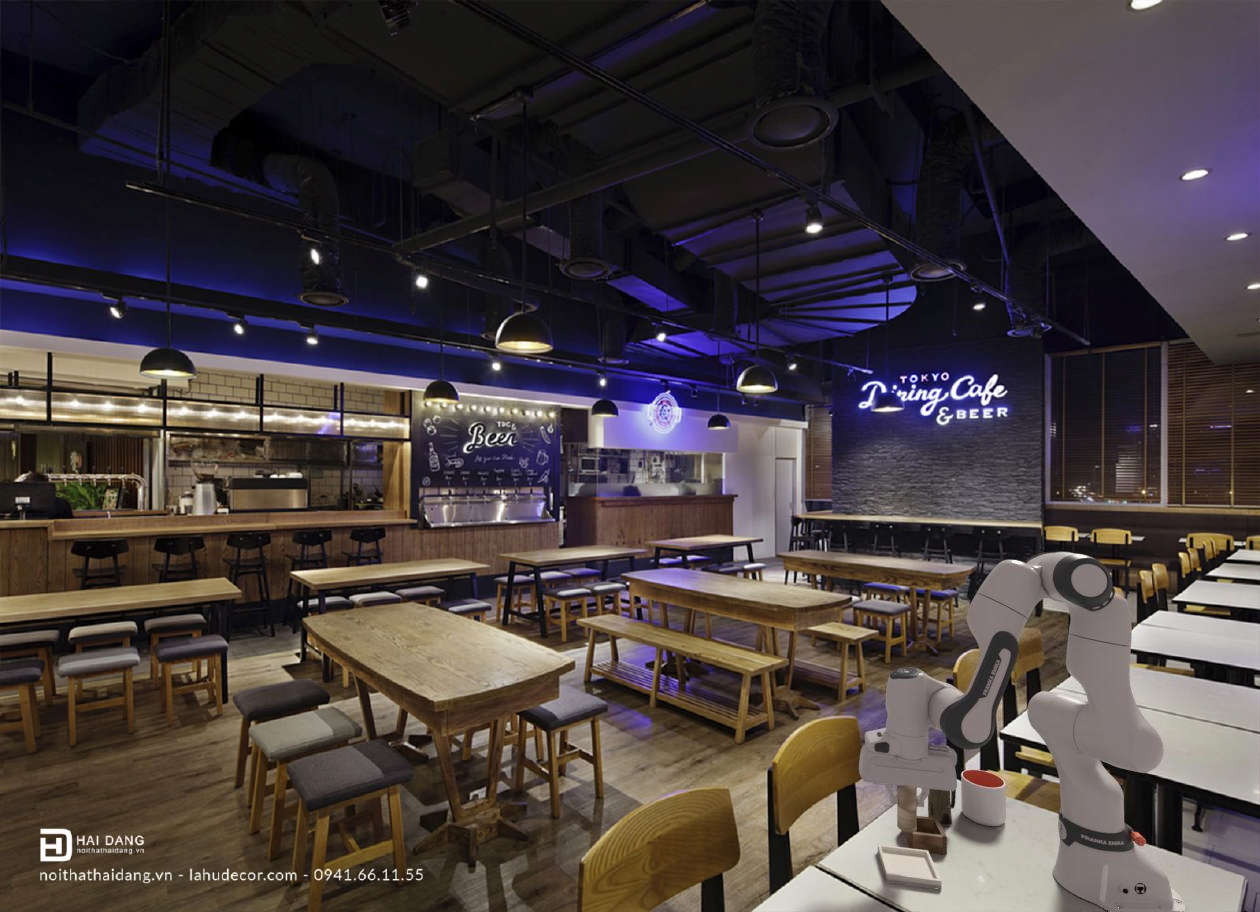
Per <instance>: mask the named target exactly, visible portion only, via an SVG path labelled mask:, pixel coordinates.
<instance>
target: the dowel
mask: <svg viewBox="0 0 1260 912" xmlns="http://www.w3.org/2000/svg"><path fill="white" fill-rule="evenodd" d="M896 788H897V789H896V793H897V796H898V804H896V808H897V809H896V810H897V811H896V812H897V813H896V815H897V816H896V817H897V818H896V820H897V821H896V823H897V824H896V826H897V828H898V830H900V831H901V830H902V831H905V832H910V833H912V832H916V831H917V816H918V815H917V813H918V812H917V809H918V808H917V796H918V794H917V790H918V789H917V788H918V787H914V786H904V785H903V786H900V785H896Z"/></svg>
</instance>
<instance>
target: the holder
mask: <svg viewBox="0 0 1260 912" xmlns="http://www.w3.org/2000/svg"><path fill="white" fill-rule="evenodd" d="M943 828H944V827H942V826H941V824H940V822H939V820H938V819H934V818H933V817H928V816H923V815H922V816H921V815H917V831H916V832H912V833H910V832H905V831H902V830H901V829H900V832H901V834H902V837H903V840H904V842H905V845H906V848H911V849H920V850H928V851H929V854H934V855H935V854H936V855H941V856H942V855H946V854H948V841H947V840H948V835H946V833H945V831H944V829H943Z"/></svg>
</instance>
